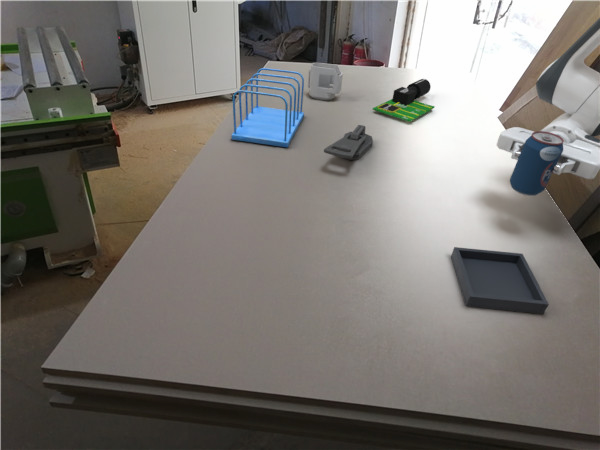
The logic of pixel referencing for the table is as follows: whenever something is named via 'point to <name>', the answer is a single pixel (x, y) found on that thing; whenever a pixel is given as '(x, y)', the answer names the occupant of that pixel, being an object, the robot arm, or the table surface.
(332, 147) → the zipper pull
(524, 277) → the tray
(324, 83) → the cable organizer
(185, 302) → the table surface
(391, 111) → the circuit board with cylinder
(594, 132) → the robot arm
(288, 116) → the file sorter
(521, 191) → the soda can
